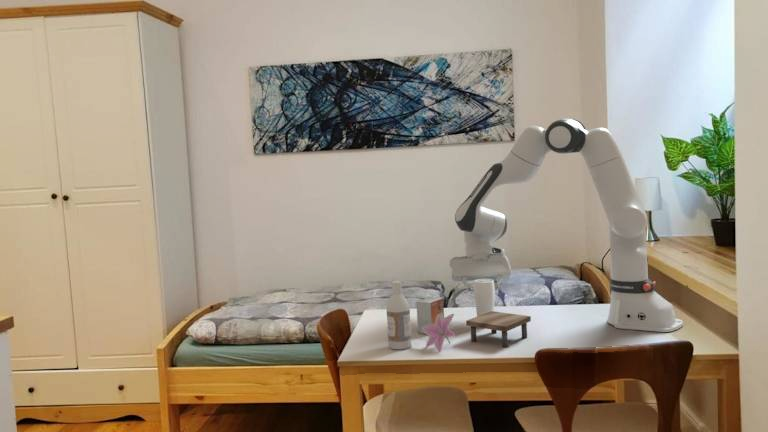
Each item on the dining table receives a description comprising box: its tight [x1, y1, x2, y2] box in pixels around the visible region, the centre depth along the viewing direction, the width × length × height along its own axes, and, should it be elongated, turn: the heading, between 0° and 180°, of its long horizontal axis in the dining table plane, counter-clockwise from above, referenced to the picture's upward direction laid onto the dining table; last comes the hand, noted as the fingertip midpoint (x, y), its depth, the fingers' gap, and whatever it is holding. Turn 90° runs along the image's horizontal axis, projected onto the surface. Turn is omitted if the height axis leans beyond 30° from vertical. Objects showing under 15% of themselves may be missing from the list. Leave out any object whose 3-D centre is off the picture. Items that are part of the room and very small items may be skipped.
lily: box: [422, 313, 456, 353], centre depth 200 cm, size 12×12×10 cm
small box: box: [415, 296, 445, 335], centre depth 218 cm, size 8×6×10 cm
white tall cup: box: [473, 279, 496, 317], centre depth 221 cm, size 7×7×15 cm
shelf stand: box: [465, 310, 532, 348], centre depth 204 cm, size 14×14×6 cm
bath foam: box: [386, 280, 412, 351], centre depth 202 cm, size 7×7×20 cm
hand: (483, 289), depth 224 cm, fingers open, 8 cm apart
